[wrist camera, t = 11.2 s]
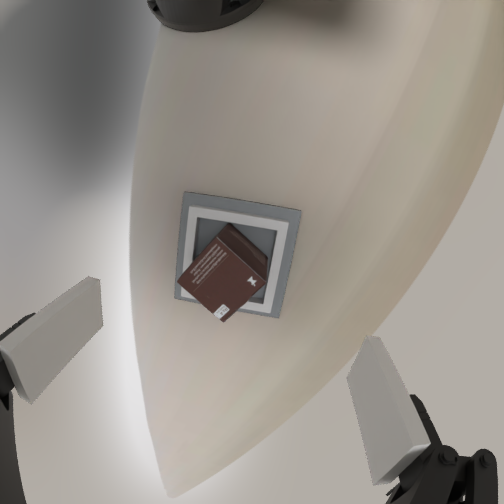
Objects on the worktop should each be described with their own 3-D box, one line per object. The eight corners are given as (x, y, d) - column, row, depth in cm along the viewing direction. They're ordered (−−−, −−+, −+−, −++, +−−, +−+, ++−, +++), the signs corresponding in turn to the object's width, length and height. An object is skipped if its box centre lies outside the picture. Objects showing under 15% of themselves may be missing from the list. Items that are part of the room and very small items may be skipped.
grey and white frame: (185, 191, 31) (179, 193, 29) (301, 210, 30) (303, 213, 28) (175, 296, 34) (170, 303, 32) (278, 315, 34) (278, 324, 32)
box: (230, 220, 31) (217, 234, 24) (270, 257, 31) (268, 282, 24) (194, 258, 32) (174, 281, 25) (233, 293, 33) (222, 324, 26)
